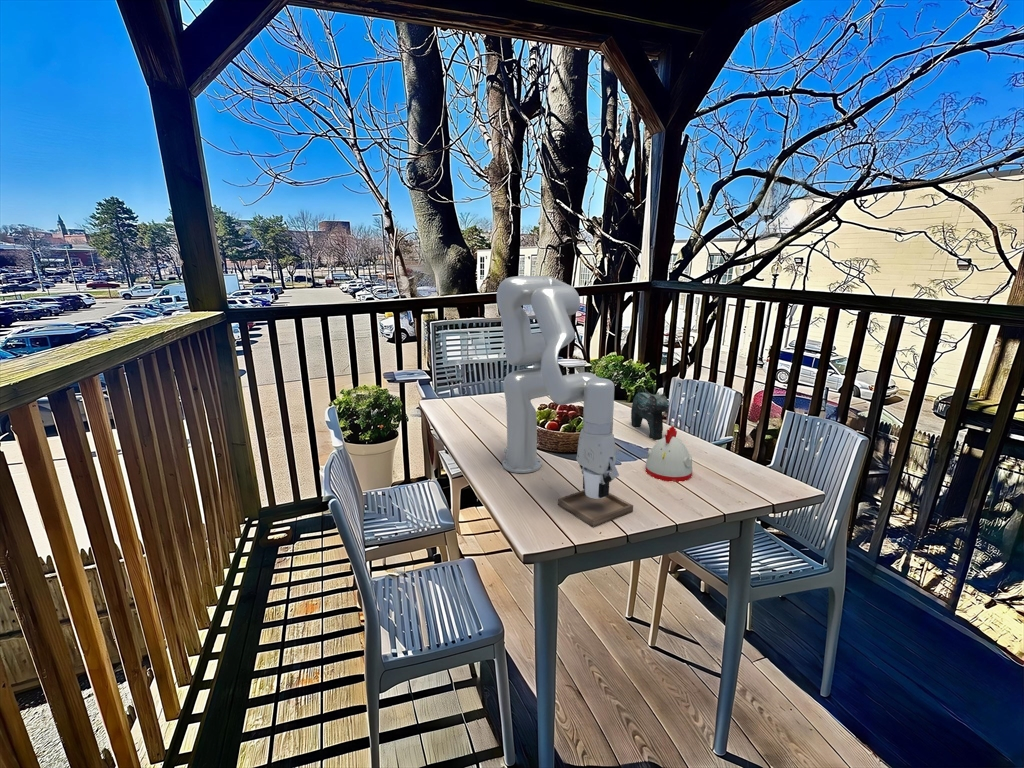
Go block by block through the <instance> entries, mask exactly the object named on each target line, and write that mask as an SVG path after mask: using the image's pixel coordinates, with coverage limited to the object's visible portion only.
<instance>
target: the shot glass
mask: <svg viewBox="0 0 1024 768" xmlns="http://www.w3.org/2000/svg"><path fill="white" fill-rule="evenodd" d="M607 476H608V473H606V474H604V477H607ZM600 480H601V475H600V474H597V473H595V472H593V471H591V470H589V469H587V468H585V467H584V483H585V489H584V490H585V494H586V496H588V497H590V498H594V499H600V498H599V496H598V495H599V483H601V481H600ZM605 497H606V496H605ZM603 498H604V497H603Z"/></svg>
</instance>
